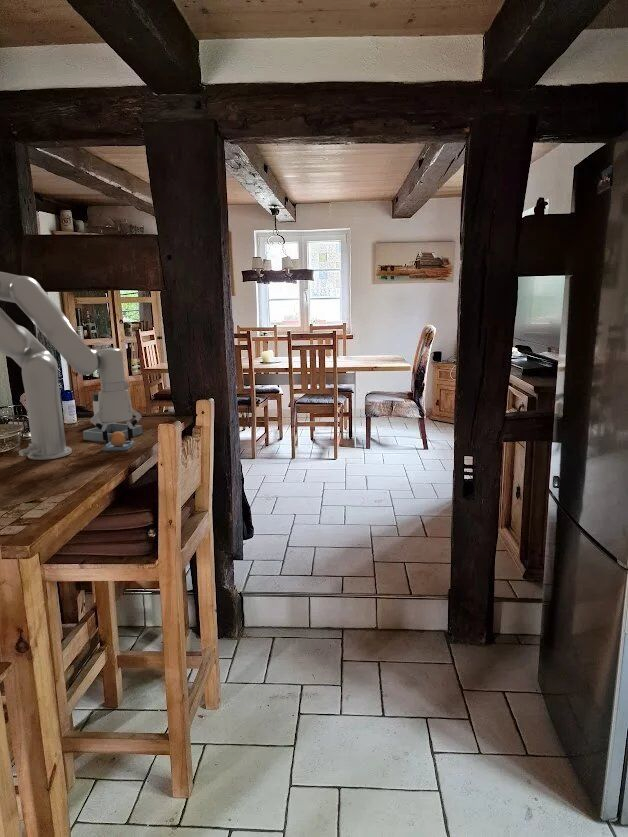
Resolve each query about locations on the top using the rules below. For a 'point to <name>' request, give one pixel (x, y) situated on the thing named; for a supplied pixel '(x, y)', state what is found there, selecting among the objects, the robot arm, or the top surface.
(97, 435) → the grey square tray
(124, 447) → the coaster
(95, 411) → the jar
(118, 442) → the ball
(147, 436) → the top surface
